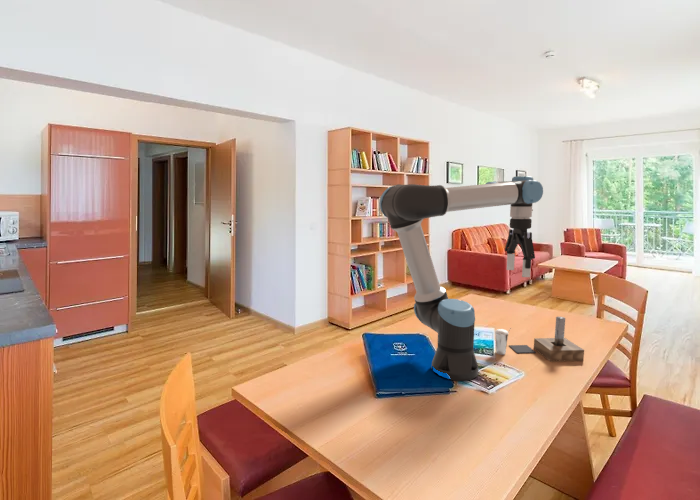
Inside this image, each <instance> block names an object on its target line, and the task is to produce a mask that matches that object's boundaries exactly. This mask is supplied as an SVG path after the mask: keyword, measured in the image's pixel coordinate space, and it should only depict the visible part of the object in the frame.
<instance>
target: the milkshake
mask: <svg viewBox="0 0 700 500" xmlns="http://www.w3.org/2000/svg"><path fill="white" fill-rule="evenodd" d="M511 329H512V327H509V330H507V329H504V328H497V329H496V330H495V331H494V334H495V353H496V354H497V355H502V356H503V355H506V353H507V345H508V339H509V338H508V337H509V333H510V331H511Z"/></svg>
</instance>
